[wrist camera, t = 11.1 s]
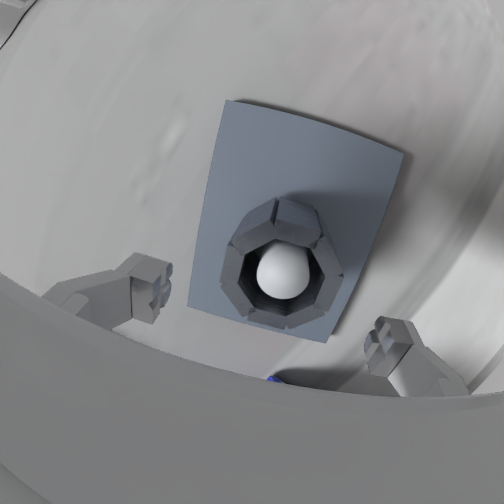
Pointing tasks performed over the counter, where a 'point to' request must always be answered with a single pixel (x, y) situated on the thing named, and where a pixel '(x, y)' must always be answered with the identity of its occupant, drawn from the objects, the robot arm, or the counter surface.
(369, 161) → the post block
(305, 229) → the hub ring
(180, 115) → the counter surface
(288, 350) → the counter surface
